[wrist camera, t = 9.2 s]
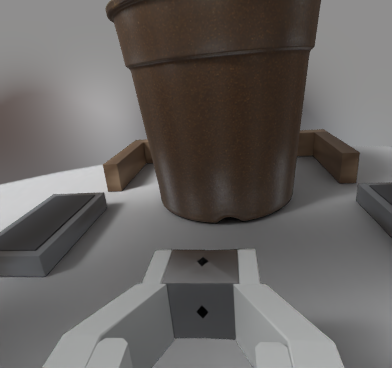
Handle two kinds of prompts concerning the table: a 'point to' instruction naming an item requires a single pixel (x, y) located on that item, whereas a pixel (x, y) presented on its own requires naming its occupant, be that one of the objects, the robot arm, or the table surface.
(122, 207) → the table surface
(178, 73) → the plant pot
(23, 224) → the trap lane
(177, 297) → the robot arm
